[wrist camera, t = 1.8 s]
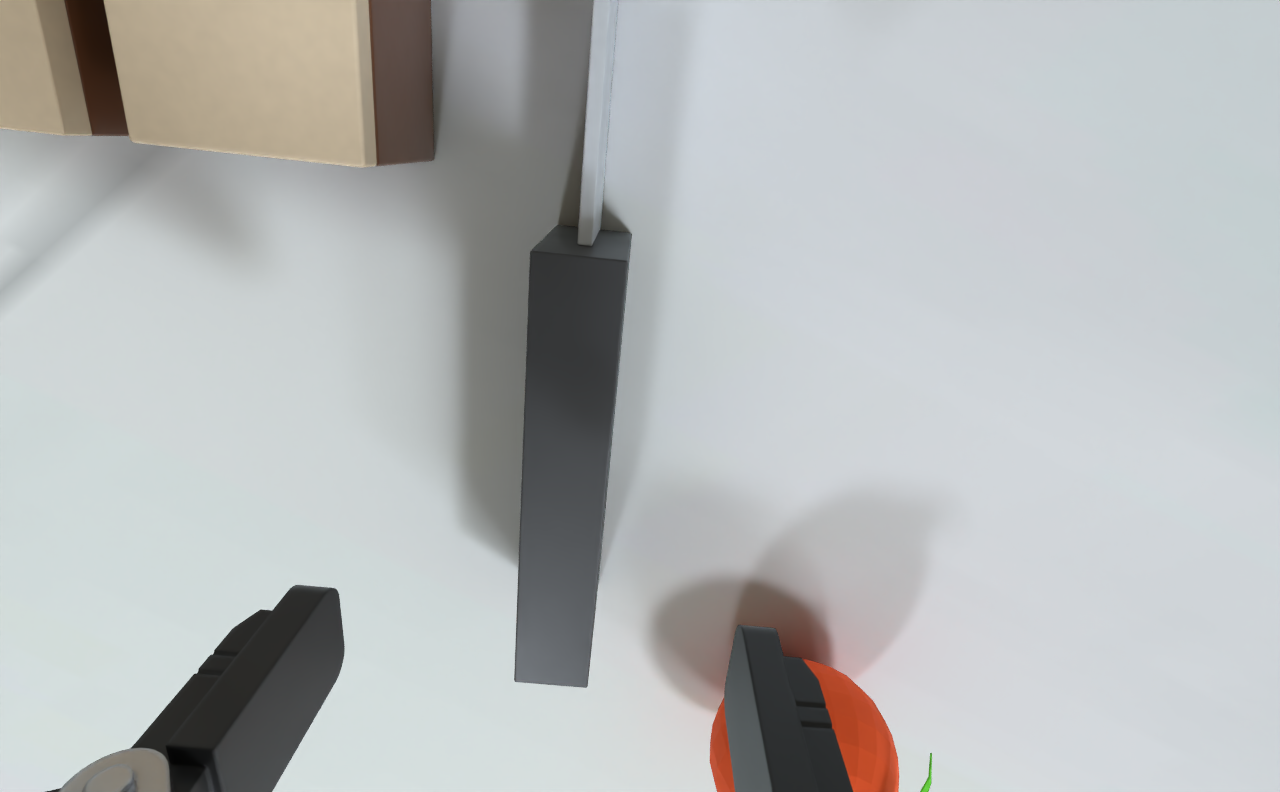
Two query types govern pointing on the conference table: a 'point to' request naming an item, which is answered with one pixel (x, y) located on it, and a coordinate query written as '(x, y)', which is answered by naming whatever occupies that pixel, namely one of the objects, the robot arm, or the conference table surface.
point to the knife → (571, 406)
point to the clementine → (855, 731)
